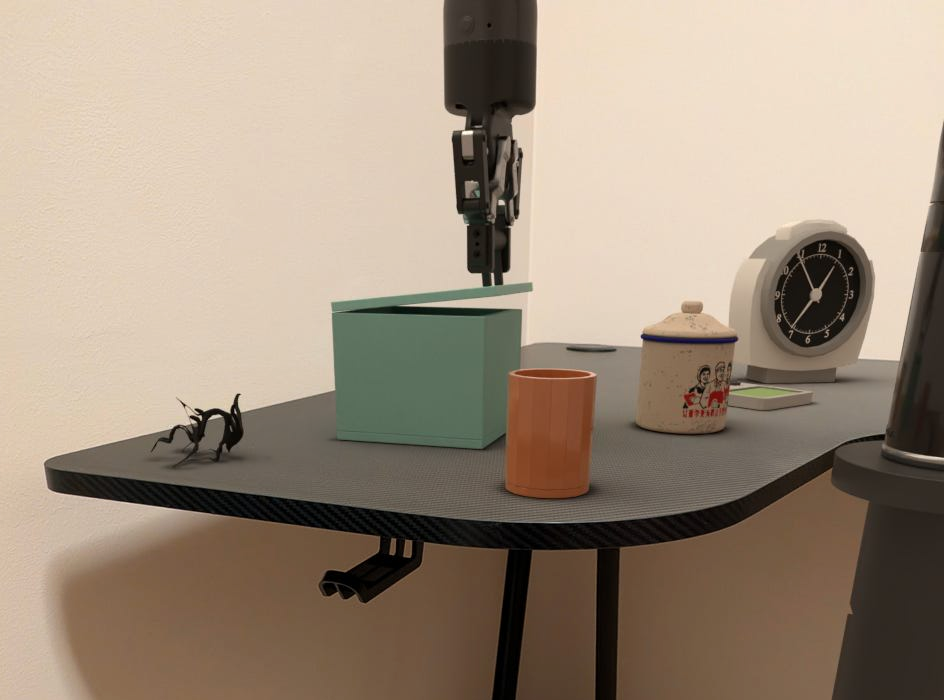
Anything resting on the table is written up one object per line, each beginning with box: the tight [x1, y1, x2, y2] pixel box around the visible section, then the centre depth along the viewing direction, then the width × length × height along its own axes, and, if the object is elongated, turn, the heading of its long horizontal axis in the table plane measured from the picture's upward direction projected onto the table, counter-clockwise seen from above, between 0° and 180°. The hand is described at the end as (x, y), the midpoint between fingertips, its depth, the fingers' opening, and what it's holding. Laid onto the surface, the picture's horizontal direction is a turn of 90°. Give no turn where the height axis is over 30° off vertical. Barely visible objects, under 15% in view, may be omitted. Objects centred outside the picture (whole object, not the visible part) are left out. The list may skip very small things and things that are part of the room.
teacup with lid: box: [635, 300, 738, 435], centre depth 88 cm, size 12×9×12 cm
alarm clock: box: [728, 218, 876, 384], centre depth 122 cm, size 18×8×20 cm, turn 104°
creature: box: [150, 393, 244, 468], centre depth 73 cm, size 8×5×8 cm
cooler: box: [331, 305, 523, 450], centre depth 84 cm, size 14×14×11 cm
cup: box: [504, 368, 598, 499], centre depth 64 cm, size 6×6×8 cm
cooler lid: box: [330, 229, 534, 313], centre depth 80 cm, size 15×14×5 cm
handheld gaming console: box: [728, 379, 814, 411], centre depth 108 cm, size 10×2×15 cm
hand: (489, 272), depth 79 cm, fingers closed on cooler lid, 5 cm apart
